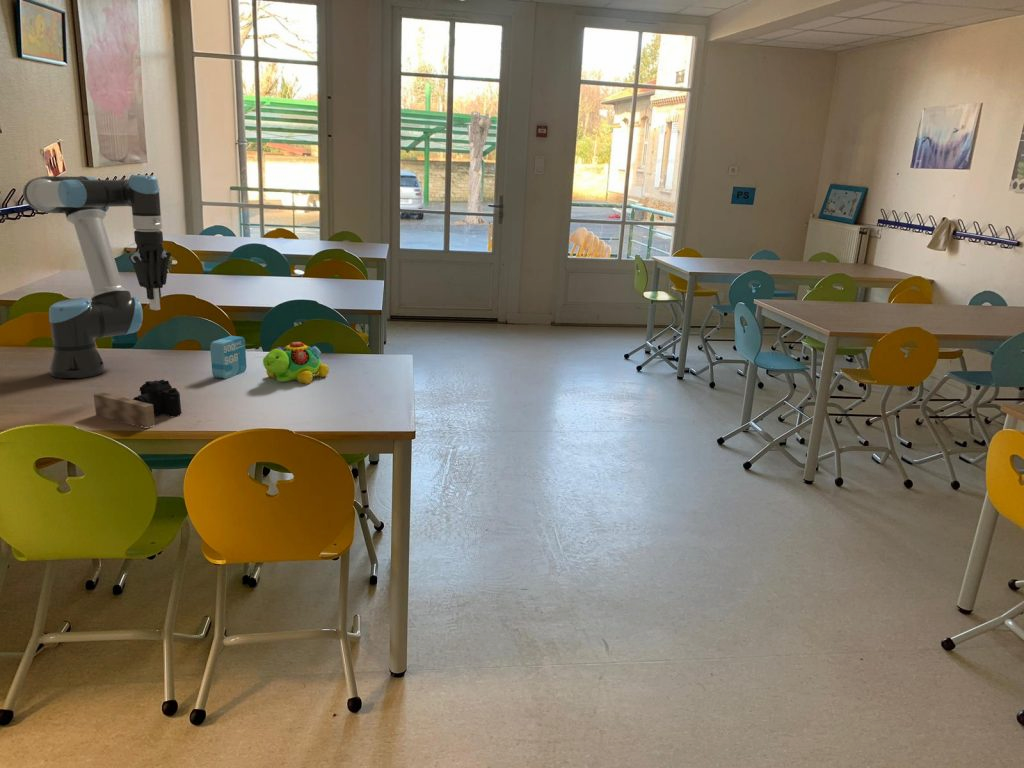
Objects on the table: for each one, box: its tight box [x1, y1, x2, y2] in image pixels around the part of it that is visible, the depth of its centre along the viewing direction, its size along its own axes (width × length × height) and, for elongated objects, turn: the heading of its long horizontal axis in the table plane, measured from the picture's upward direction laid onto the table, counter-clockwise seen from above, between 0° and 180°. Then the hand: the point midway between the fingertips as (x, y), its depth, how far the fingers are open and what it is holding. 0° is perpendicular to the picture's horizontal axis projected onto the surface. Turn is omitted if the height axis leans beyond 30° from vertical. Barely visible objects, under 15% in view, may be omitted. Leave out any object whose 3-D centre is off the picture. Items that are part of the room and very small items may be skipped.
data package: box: [209, 335, 247, 380], centre depth 244 cm, size 12×4×12 cm, turn 163°
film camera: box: [132, 379, 182, 417], centre depth 206 cm, size 15×10×9 cm, turn 58°
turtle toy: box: [262, 341, 330, 385], centre depth 242 cm, size 17×23×12 cm
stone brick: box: [93, 391, 156, 428], centre depth 200 cm, size 20×2×6 cm, turn 64°
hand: (155, 309), depth 224 cm, fingers closed
